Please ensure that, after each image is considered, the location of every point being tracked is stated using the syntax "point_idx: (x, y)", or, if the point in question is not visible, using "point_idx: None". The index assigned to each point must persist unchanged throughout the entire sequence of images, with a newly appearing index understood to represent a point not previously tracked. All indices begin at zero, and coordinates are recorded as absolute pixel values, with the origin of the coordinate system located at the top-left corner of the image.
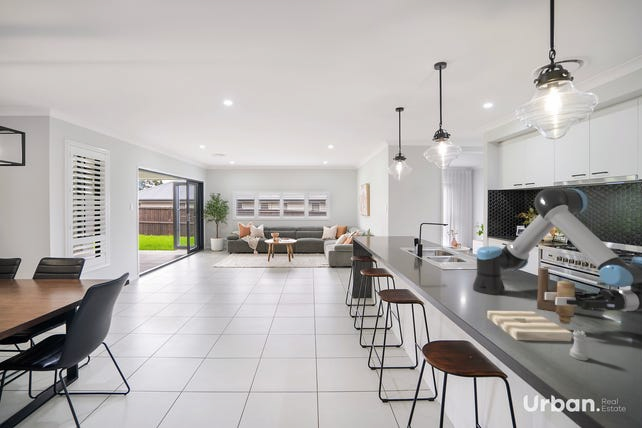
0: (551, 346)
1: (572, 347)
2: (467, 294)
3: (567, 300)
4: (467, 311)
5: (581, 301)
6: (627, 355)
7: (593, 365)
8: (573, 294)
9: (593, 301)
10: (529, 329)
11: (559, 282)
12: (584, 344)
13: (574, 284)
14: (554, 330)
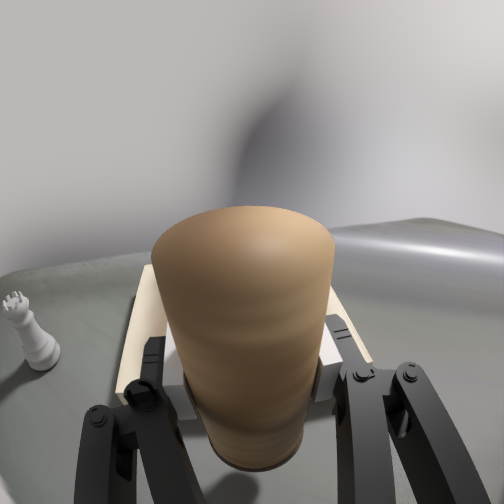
0: (104, 336)
1: (44, 332)
2: (494, 264)
3: (165, 339)
4: (343, 245)
5: (125, 411)
6: (26, 495)
7: (16, 359)
8: (183, 362)
9: (76, 475)
10: (153, 291)
11: (248, 210)
12: (18, 333)
13: (165, 279)
14: (139, 349)
